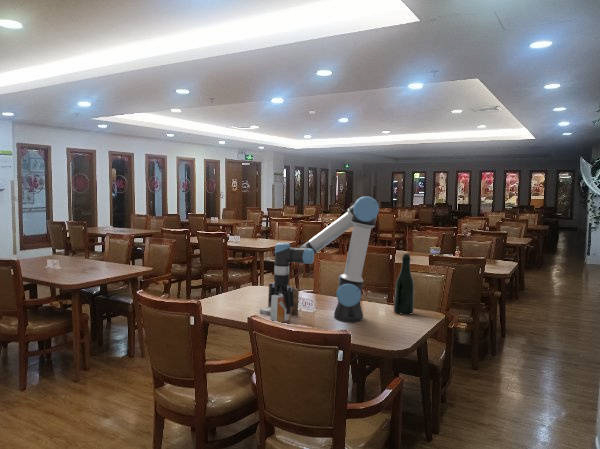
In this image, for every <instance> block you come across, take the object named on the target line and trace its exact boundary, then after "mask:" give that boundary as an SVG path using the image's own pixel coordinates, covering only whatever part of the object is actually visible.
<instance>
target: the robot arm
mask: <svg viewBox="0 0 600 449" xmlns="http://www.w3.org/2000/svg"><path fill="white" fill-rule="evenodd" d="M379 211H380V206H379V203H378V201H377V199H375V198H374V197H372V196H369V195H364V196H360V197H359V198H357V199H356V201H355V202H354V203H353V204H352V205H351V206H350V207H348V208H347V211H346V212H345V213H343V215H341V216H340V217H339V218H337V219H336V220H334V221H333V222H332V223H331V224H329V225H328V226H326V227H325V228H324V229H322V230H321V231H320V232H318V233H317V234H315V235H314V236H313V237H312V238H311V239H309V240H307V241H306V242H305V243H303V244H302V245H300V246H299V247H291V243H289V242H277V243H276V244H275V247H274V249H275V250H274V268H273V269H274V271H273V272H274V274H273V279H274V280H273V281H274V282H273V283H271V282H270V283H271V284H270V283H269V284H270V293H269V292H268V296H269V302H270V303H271V295H278V294H279V293H280V292H281V293H282V295H283V297H284V301H285V305H286V307H285V312H284V321H286V320H289V314H290V307H293V306H294V303H293V288H294V287H293V286H290V285H289V281H290V274H289V273H290V264H291V263H292V264H293V263H294V264H304V265H305V264H313V263H314V260H315V254H317V253H318V252H320V251H321V250H323V249H324V248H325V247H326V246H328V245H329V244H331V243H332V242H333V241H335V240H336V239H338V237H340V236H341V235H343V234H344V233H345V232H347V231H349V230H350V228H352V232H351V236H350V242H349V246H348V252H347V258H346V261H345V265H344V266H345V267H344V272H343V273H341V274H339V276H338V286H337V290H336V293H335V294H336V299H337V305H336V307H335V310H334V312H333V318H334V319H335V320H337V321H340V322H347V323H353V322H354V321H357V322H361V321H363V320H364V313H363V310H362V305H361V298H362V291H363V286H364V279H363V277H362V275H363V269H364V267H365V266H364V265H365V261H366V256H367V251H368V246H369V241H370V236H371V231H372V229H373V228H375V227H376V223H377V222H376V221H377V217H378V215H379V213H380V212H379ZM284 292H285V293H284ZM362 319H363V320H362ZM360 320H361V321H360ZM354 323H355V322H354Z"/></svg>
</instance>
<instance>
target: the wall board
mask: <svg viewBox="0 0 600 449" xmlns="http://www.w3.org/2000/svg"><path fill="white" fill-rule="evenodd" d="M270 284H271V282H270V283H268V294H269V293H270ZM299 292H300V289H298V288H294V287H293V303H294V306H293V307H291V310H290V316H295V317H297V316H298V315H299ZM284 293H285V292H284ZM279 294H282V293H281V292H280V293H279ZM267 301H268V302H267V303H268V305H267V306H268V307H263V308H261V309H259V313H260V314H263V315H266V316H270V317H271V303H270V302H269V295H268V300H267Z"/></svg>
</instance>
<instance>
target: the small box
mask: <svg viewBox="0 0 600 449" xmlns="http://www.w3.org/2000/svg"><path fill="white" fill-rule="evenodd" d="M285 307H286V305H285V301H284V297H283V295H282V294H278V295H271V316H270V320H271V321H272V320H273V321H272V322H274V321H278V322H280V323H284V322H290V321H291V315H290V314H289V320H286V321H284V312H285ZM290 310H291V307H290Z"/></svg>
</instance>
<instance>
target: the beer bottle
mask: <svg viewBox="0 0 600 449" xmlns="http://www.w3.org/2000/svg"><path fill="white" fill-rule="evenodd" d="M402 255H403V256H402V257H401V260H402V262H401V268H400V272H399V274H398V277H397V279H396V282H395V289H394V290H395V291H394V303H393V304H394V305H393V312H394V313H395V312H396V313H395V314H397V313H402V314H410V313H412V314H414V307H415V306H414V304H415V302H414V301H415V281H414V278H413V276H412V272H411V256H410V255H411V254H410V253H403V254H402ZM410 315H411V314H410Z"/></svg>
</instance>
